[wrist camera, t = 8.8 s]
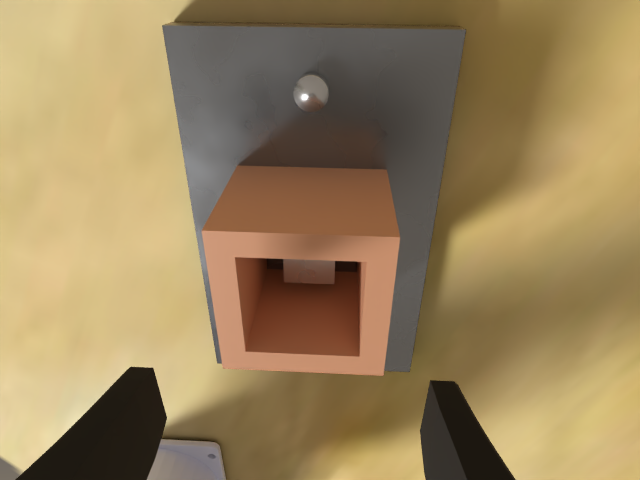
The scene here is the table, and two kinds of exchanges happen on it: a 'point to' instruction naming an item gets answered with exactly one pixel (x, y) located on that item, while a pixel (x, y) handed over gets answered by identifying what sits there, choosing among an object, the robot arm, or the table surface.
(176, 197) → the table surface
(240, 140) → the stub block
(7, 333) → the table surface
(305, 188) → the collar
